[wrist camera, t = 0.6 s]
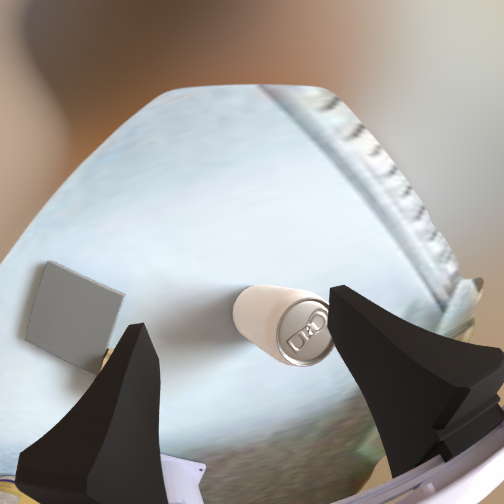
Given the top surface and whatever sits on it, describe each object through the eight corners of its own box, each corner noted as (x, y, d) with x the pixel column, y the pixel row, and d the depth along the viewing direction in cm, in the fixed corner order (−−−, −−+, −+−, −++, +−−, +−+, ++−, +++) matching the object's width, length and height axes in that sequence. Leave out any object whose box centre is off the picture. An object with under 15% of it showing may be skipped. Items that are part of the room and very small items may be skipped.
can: (295, 313, 36) (355, 332, 25) (255, 350, 34) (302, 386, 23) (263, 272, 35) (315, 274, 23) (219, 309, 33) (253, 331, 22)
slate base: (101, 369, 29) (98, 375, 27) (31, 335, 26) (25, 339, 24) (125, 294, 30) (123, 296, 28) (53, 261, 28) (47, 260, 26)
